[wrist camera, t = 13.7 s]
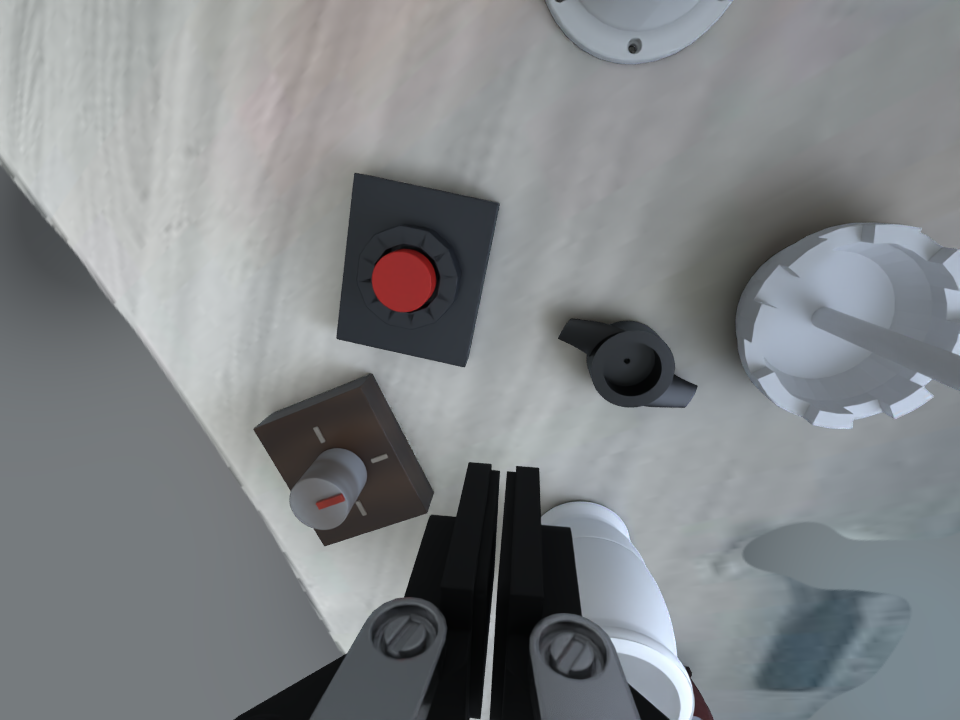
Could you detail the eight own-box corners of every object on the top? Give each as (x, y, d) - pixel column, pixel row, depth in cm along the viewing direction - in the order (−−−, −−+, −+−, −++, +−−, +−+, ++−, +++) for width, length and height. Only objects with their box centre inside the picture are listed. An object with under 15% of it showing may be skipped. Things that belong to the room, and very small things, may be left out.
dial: (330, 501, 41) (305, 539, 36) (304, 457, 40) (276, 491, 35) (376, 486, 40) (357, 523, 35) (351, 440, 39) (328, 472, 34)
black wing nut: (647, 276, 36) (657, 283, 33) (697, 391, 38) (710, 406, 35) (551, 322, 37) (552, 332, 35) (604, 430, 40) (609, 447, 37)
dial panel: (271, 413, 42) (251, 429, 39) (372, 373, 40) (359, 387, 37) (337, 524, 45) (323, 547, 42) (434, 492, 43) (426, 514, 40)
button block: (364, 174, 35) (344, 171, 32) (500, 203, 35) (496, 203, 31) (346, 331, 39) (326, 345, 35) (468, 358, 39) (461, 375, 35)
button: (383, 243, 33) (375, 245, 31) (440, 255, 33) (436, 258, 31) (375, 300, 34) (367, 305, 33) (431, 312, 34) (426, 318, 33)
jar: (537, 596, 46) (541, 776, 31) (504, 503, 43) (491, 655, 29) (652, 574, 44) (712, 756, 29) (626, 476, 41) (677, 624, 27)
